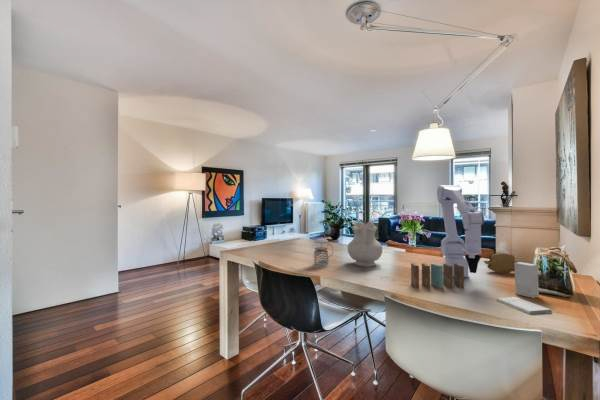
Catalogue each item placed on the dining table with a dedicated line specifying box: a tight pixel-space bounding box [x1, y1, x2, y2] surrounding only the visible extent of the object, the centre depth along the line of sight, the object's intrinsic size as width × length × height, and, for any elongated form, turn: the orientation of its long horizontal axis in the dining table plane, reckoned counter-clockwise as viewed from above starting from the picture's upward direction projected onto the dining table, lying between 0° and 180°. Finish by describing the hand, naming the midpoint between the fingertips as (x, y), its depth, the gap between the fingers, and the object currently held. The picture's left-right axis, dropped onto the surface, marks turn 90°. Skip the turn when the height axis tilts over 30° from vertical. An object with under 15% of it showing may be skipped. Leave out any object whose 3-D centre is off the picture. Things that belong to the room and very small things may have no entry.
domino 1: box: [410, 262, 420, 288], centre depth 119 cm, size 2×5×9 cm, turn 176°
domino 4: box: [442, 263, 454, 289], centre depth 118 cm, size 2×5×9 cm, turn 176°
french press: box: [312, 220, 334, 269], centre depth 156 cm, size 10×12×25 cm
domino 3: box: [430, 262, 444, 289], centre depth 118 cm, size 2×5×9 cm, turn 16°
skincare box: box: [514, 261, 540, 299], centre depth 106 cm, size 6×4×12 cm
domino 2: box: [421, 262, 431, 289], centre depth 119 cm, size 2×5×9 cm, turn 176°
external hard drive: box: [496, 296, 552, 315], centre depth 96 cm, size 2×8×12 cm
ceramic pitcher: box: [347, 220, 383, 268], centre depth 158 cm, size 22×20×25 cm
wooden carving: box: [483, 252, 518, 274], centre depth 140 cm, size 16×5×10 cm, turn 80°
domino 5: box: [453, 264, 465, 289], centre depth 118 cm, size 2×5×9 cm, turn 176°
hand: (473, 272), depth 117 cm, fingers closed
